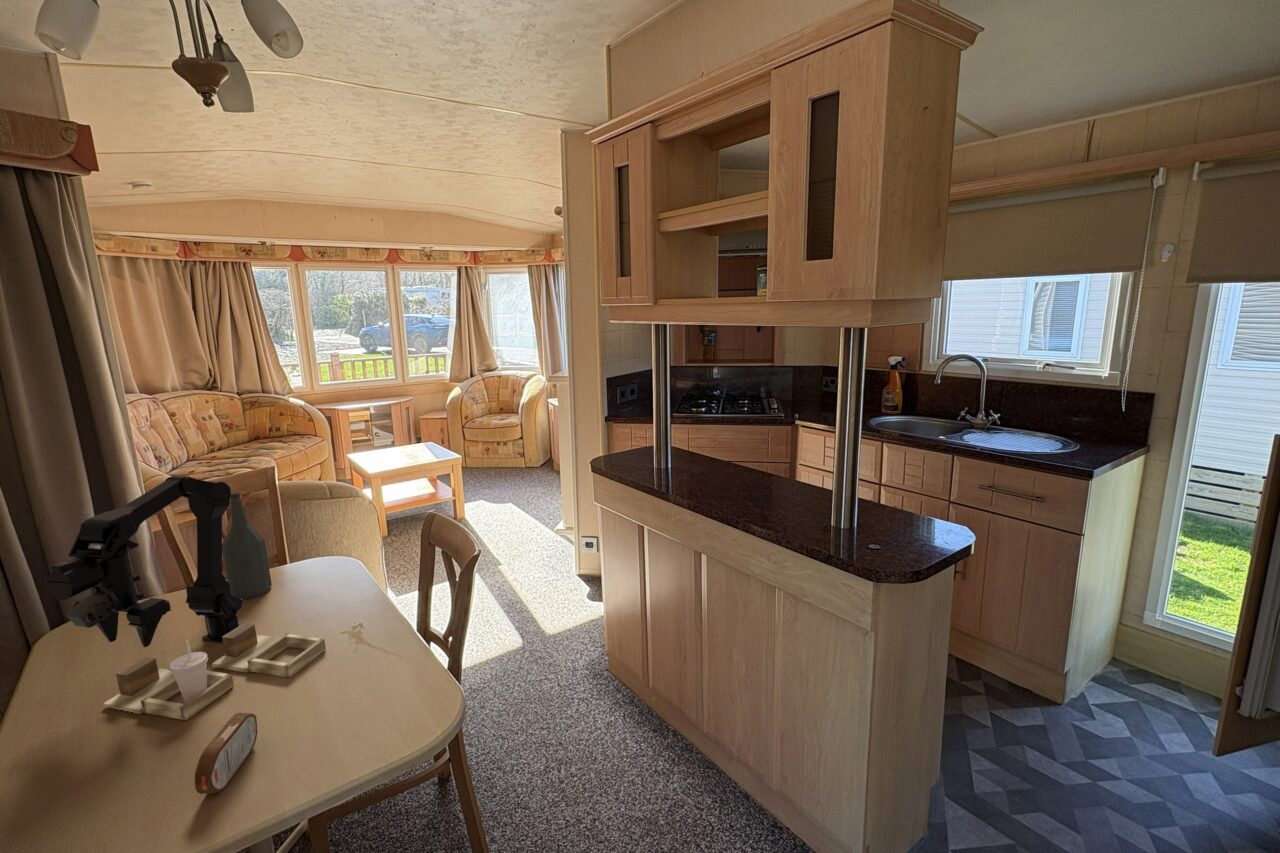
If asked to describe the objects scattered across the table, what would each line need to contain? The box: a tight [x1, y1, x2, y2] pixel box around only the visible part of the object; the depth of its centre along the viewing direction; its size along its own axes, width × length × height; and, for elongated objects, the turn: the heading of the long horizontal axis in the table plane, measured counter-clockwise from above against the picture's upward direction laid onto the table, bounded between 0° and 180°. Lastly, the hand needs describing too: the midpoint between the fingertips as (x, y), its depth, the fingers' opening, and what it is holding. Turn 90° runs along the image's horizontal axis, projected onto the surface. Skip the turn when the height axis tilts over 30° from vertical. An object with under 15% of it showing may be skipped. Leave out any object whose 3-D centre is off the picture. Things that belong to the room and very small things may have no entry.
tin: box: [193, 712, 258, 795], centre depth 106 cm, size 15×3×8 cm, turn 5°
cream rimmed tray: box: [103, 656, 235, 721], centre depth 126 cm, size 20×12×6 cm, turn 77°
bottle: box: [222, 491, 273, 600], centre depth 169 cm, size 10×10×30 cm
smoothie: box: [169, 639, 209, 704], centre depth 124 cm, size 6×6×14 cm
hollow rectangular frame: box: [212, 622, 327, 678], centre depth 139 cm, size 20×12×6 cm, turn 77°
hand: (129, 643), depth 126 cm, fingers open, 9 cm apart
